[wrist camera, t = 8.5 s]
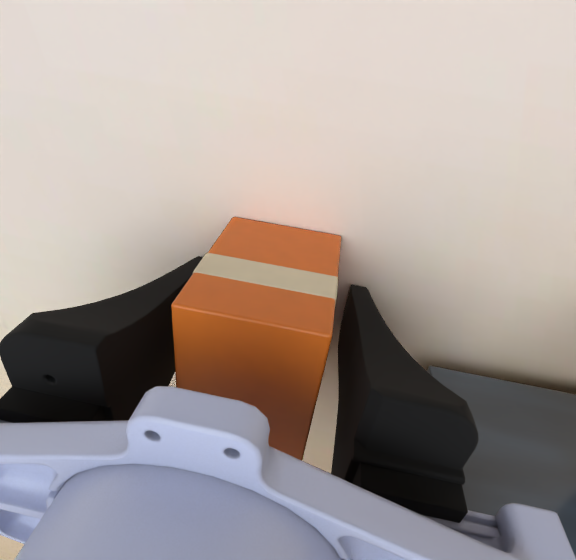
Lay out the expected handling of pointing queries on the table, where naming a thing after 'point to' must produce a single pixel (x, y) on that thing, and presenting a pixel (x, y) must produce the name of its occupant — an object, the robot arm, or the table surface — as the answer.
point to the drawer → (518, 446)
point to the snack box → (260, 323)
